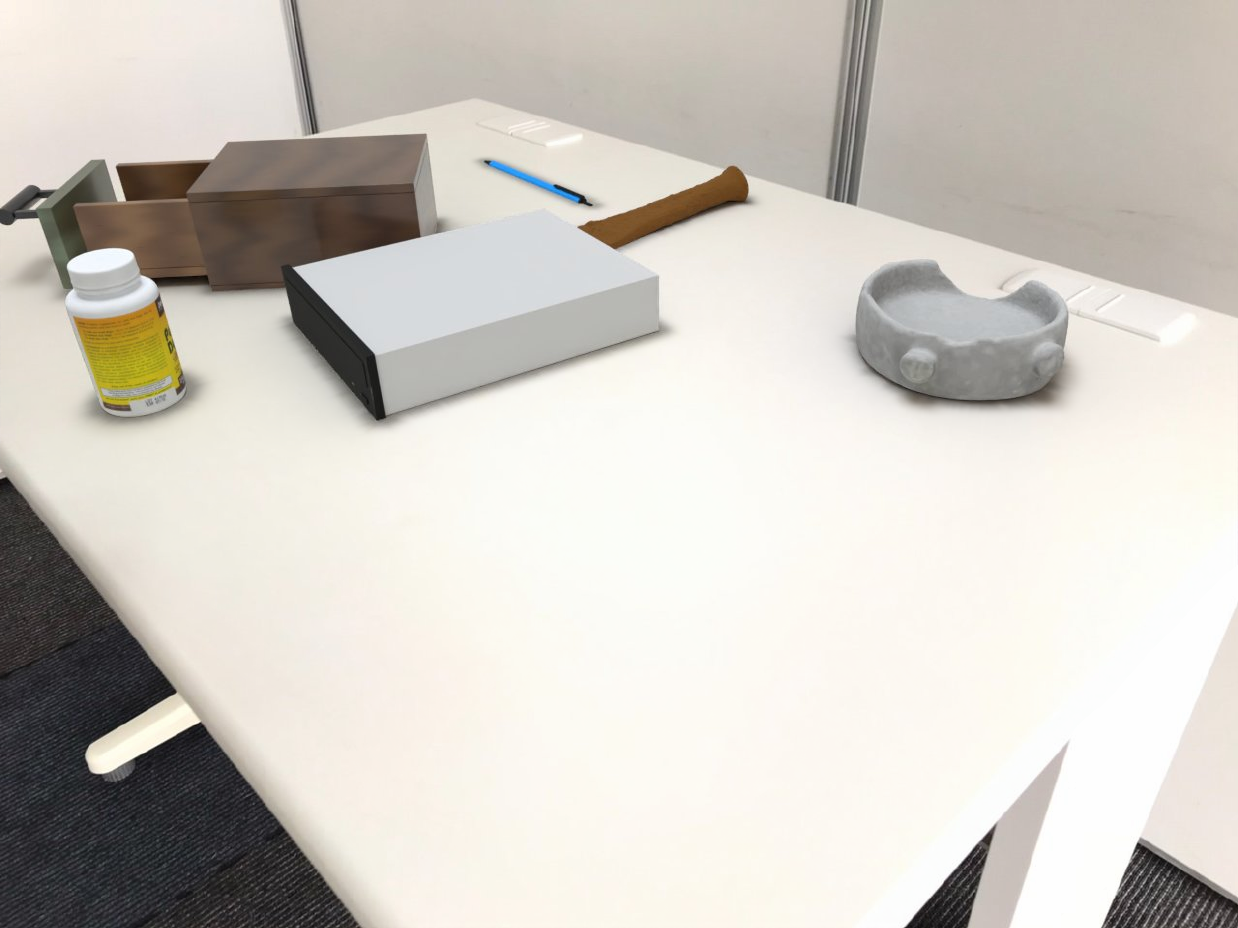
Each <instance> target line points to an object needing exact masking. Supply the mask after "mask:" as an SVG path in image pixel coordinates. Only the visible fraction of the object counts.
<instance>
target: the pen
mask: <svg viewBox="0 0 1238 928" xmlns="http://www.w3.org/2000/svg"><path fill="white" fill-rule="evenodd" d="M483 163H485V164H486V165H487V166H489V167H491V168H494V169H496V170H499V171H501V172H503V173H506V174H508V175H511V176H513V177H515V178H517V179H521V180H523V181H525V182H527V183H528V184H529V183H530V184H531V185H535V186H536V187H539V188H541V189H544V190H546V191H548V192H551V193H553V194H556V195H558V196H561V197H563V198H564V199H567V200H570V201H572V202H574V203H577V204H580V205H585V206H587V207H593V206H594V204H593V203H591V202H589V201H587V199H586V196H585V195H584V194H581V193H579V192H577V191H574V190H571V189H569V188H566V187H564V186H561V185H559V184H557V183H556V184H551V183H549V182H547V181H545V180H542V179H539V178H537V177H535V176H532V175H530V174H528V173H525V172H522V171H521V170H518V169H515V168H513V167H510V166H508V165H506V164H503V163H500V162H498V161H496V160H486V159H485V160H483Z"/></svg>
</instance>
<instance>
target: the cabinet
mask: <svg viewBox="0 0 1238 928" xmlns="http://www.w3.org/2000/svg"><path fill="white" fill-rule="evenodd" d="M428 141H429V140H428V134H427V133H406V134H386V135H385V134H381V135H361V136H359V135H358V136H337V137H313V138H311V137H310V138H290V139H289V138H287V139H286V138H285V139H266V140H241V141H240V140H239V141H238V140H237V141H227V142H226V143H225V144H224V146H223V147H222V148H221V150H220V151H219V152H218V153H217V155H216V156H215V157H214V158H212V159H213V161H212V162H211V163H210V164H209V166H208V167H207V168H206V169H205V170H204V172H203V173H202V174H201V175H200V177H199V178H198V179H197V180H196V181H195V183H194V184H193V185H192V186H191V188H190V189H189V190H188V191H187V193H186V196H187V199H188V202H189V207H190V211H191V215H192V219H193V222H194V226H195V230H196V234H197V237H198V241H199V245H200V249H201V252H202V256H203V260H204V264H205V267H206V271H207V275H206V276H207V278H208V282H209V285H210V290H211V292H229V291H249V290H268V289H286V287H285V283H284V278H283V274H282V269H281V266H283V265H287V264H289V265H290V266H291V267H292V268H293V267H297V266H301V265H306V264H310V263H314V262H318V261H323V260H327V259H331V258H336V257H340V256H344V255H348V254H353V253H357V252H361V251H365V250H370V249H374V248H378V247H382V246H387V245H391V244H395V243H399V242H404V241H408V240H412V239H416V238H421V237H425V236H429V235H433V234H437V229H438V223H439V220H438V213H437V205H436V197H435V189H434V187H435V186H434V181H433V173H432V172H433V171H432V163H431V156H430V149H429V148H430V147H429V142H428Z"/></svg>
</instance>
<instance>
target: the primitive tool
mask: <svg viewBox="0 0 1238 928" xmlns="http://www.w3.org/2000/svg"><path fill="white" fill-rule="evenodd" d="M749 192H750V189H749V183H748V179H747V177H746V175H745V174H744V172H743V171H742V170H741V169H740V168H739V167H738V166H736V165H729V166H728V167H727V168H726V169H724V170H723V171H722V172H721V174H719V175H716V176H714V177H712V178H710V179H709V180H707V181H704V182H702V183H699V184H695V185H694V186H692V187H690V188H686V189H683V190H681V191H679V192H676V193H674V194H673V193H671V194H669V195H668V196H666V197H664V198H661V199H658V200H655V201H652V202H649V203H646V204H645V205H642V206H639V207H636V208H633V209H629V210H627V211H625V212H621V213H618V214H614V215H612V216H608V217H606V218H603V219H596V220H589V221H587V222H585V223H584V224H583V225H578V226H576V227H577V228H579V229H580V230H582V231H584V232H586V233H587V234H589V235H591V236H592V237H594V238H596V239H598V240H599V241H601V242H603V243H604V244H606V245H608V246H610V247H611V248H613V249H615V250H616V249H619V248H621V247H624V246H625V245H627V244H630V243H633V242H634V241H636V240H638V239H640V238H642V237H645V236H647V235H649V234H651V233H653V232H655V231H658V230H660V229H661V228H664V227H667V226H670V225H673V224H674V223H677V222H679V221H682V220H685V219H688V218H690V217H692V216H694V215H696V214H698V213H700V212H704V211H706V210H707V209H711V208H713V207H716V206H720V205H722V204H724V203H727V202H740V203H741V202H744V201H746V200H747V199H748V197H749Z"/></svg>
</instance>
